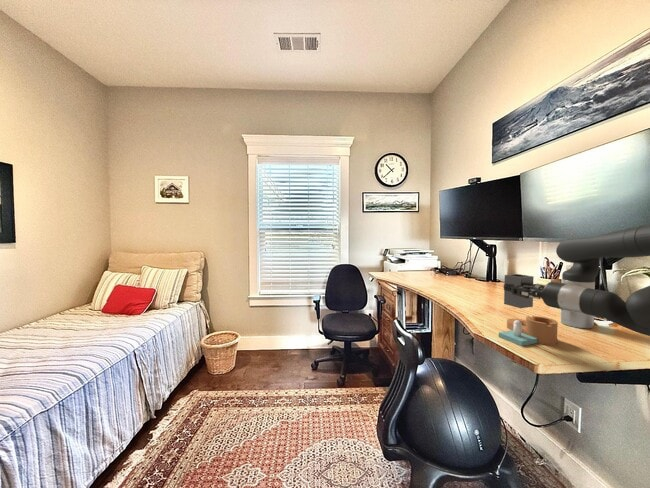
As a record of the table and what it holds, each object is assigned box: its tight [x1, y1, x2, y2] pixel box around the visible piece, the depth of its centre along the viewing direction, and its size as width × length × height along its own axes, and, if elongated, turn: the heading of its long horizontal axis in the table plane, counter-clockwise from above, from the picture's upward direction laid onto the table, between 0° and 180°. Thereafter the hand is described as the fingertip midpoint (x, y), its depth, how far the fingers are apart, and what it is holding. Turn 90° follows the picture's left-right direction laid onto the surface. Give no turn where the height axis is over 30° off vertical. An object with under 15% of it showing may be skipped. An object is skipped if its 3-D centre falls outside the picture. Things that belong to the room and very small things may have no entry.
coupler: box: [503, 273, 535, 309], centre depth 91 cm, size 6×6×10 cm
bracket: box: [506, 315, 558, 346], centre depth 96 cm, size 18×8×7 cm, turn 0°
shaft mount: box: [498, 320, 538, 347], centre depth 91 cm, size 7×8×7 cm
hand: (511, 286), depth 93 cm, fingers closed on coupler, 5 cm apart
